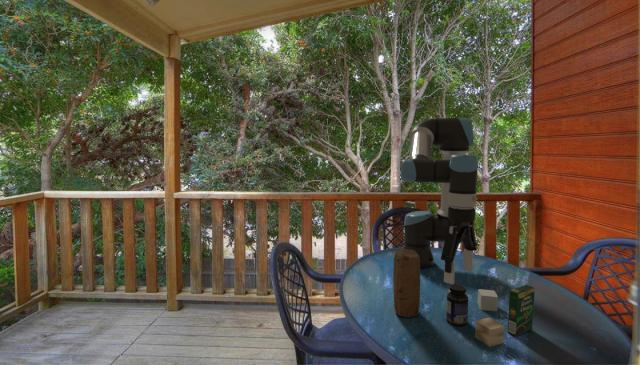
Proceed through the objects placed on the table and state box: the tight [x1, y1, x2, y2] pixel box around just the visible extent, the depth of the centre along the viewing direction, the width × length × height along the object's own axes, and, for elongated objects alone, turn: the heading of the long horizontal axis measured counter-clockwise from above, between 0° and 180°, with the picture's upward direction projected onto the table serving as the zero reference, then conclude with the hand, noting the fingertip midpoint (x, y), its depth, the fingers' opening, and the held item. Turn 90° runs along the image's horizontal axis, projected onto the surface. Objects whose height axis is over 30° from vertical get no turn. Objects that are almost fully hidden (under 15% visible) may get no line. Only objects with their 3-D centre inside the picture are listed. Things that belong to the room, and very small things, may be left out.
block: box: [392, 248, 421, 318], centre depth 111 cm, size 11×8×20 cm
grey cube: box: [477, 288, 499, 312], centre depth 114 cm, size 5×5×5 cm
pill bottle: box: [445, 283, 469, 327], centre depth 105 cm, size 6×6×11 cm
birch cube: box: [474, 317, 505, 348], centre depth 95 cm, size 5×5×5 cm
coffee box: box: [507, 284, 536, 338], centre depth 99 cm, size 8×3×13 cm, turn 118°
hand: (458, 276), depth 103 cm, fingers open, 13 cm apart
